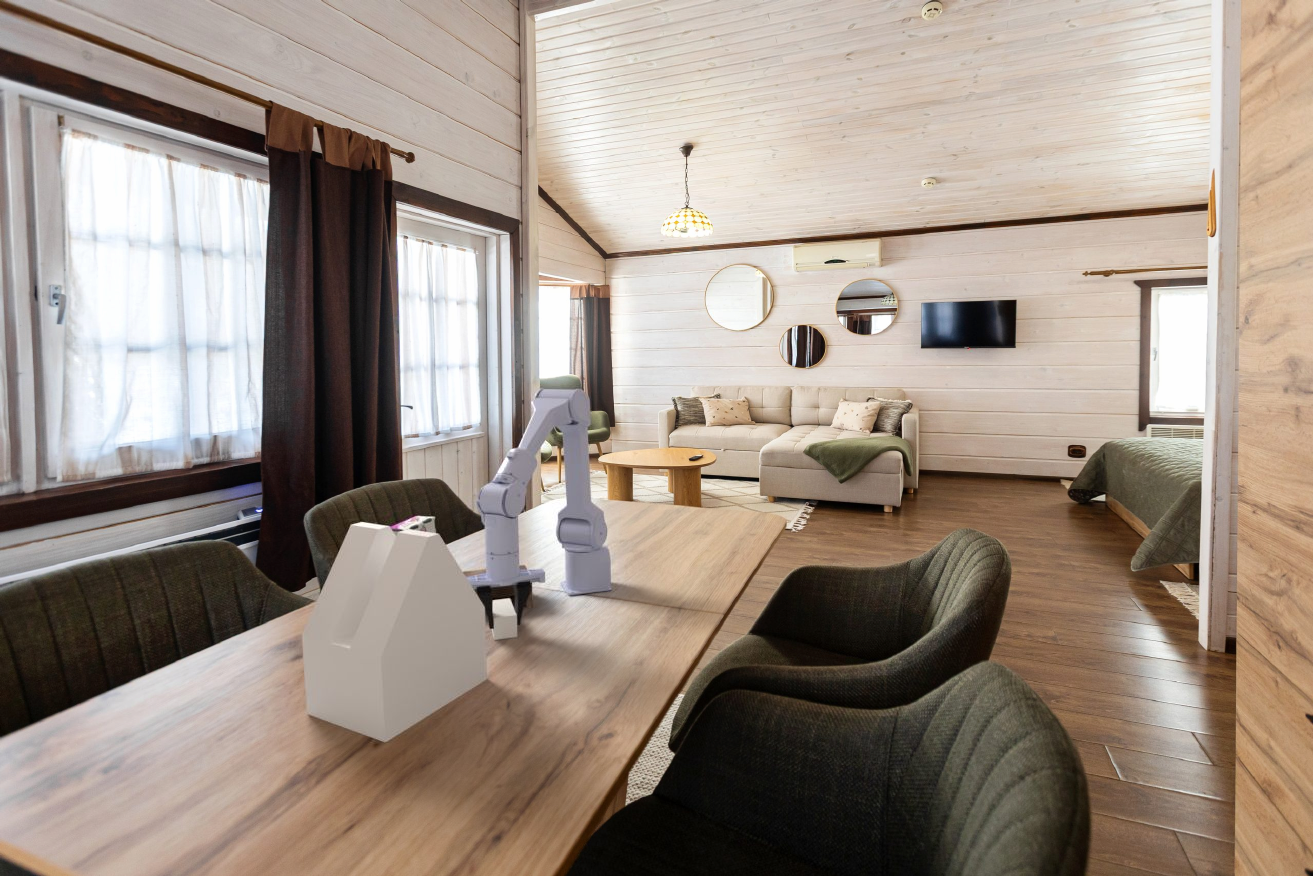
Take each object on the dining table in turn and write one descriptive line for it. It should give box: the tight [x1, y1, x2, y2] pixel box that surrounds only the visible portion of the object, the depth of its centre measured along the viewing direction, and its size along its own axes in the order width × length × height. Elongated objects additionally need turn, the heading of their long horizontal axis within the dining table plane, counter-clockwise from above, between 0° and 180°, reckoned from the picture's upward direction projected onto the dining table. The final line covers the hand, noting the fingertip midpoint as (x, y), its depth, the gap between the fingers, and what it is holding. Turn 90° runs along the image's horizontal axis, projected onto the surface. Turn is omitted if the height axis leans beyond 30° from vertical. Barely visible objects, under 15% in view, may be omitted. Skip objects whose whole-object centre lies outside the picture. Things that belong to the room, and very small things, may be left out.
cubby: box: [462, 564, 534, 609], centre depth 133 cm, size 14×9×6 cm, turn 110°
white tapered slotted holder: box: [301, 521, 488, 743], centre depth 96 cm, size 19×15×25 cm
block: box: [490, 597, 518, 641], centre depth 121 cm, size 4×9×4 cm, turn 20°
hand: (504, 625), depth 118 cm, fingers closed on block, 4 cm apart
